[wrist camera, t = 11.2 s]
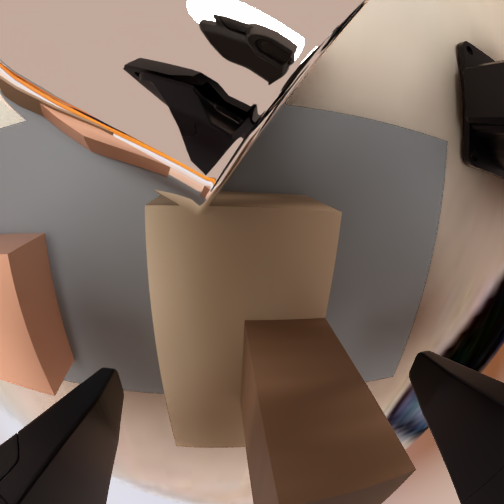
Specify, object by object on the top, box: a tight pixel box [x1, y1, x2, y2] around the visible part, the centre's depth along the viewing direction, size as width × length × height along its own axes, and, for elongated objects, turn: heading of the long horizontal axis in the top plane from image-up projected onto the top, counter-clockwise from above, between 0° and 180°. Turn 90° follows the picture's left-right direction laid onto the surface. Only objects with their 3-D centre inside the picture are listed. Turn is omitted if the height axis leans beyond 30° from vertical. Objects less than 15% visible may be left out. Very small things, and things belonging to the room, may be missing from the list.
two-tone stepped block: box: [145, 191, 416, 504], centre depth 7 cm, size 5×9×8 cm, turn 177°
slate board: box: [0, 105, 447, 394], centre depth 8 cm, size 24×12×3 cm, turn 87°
